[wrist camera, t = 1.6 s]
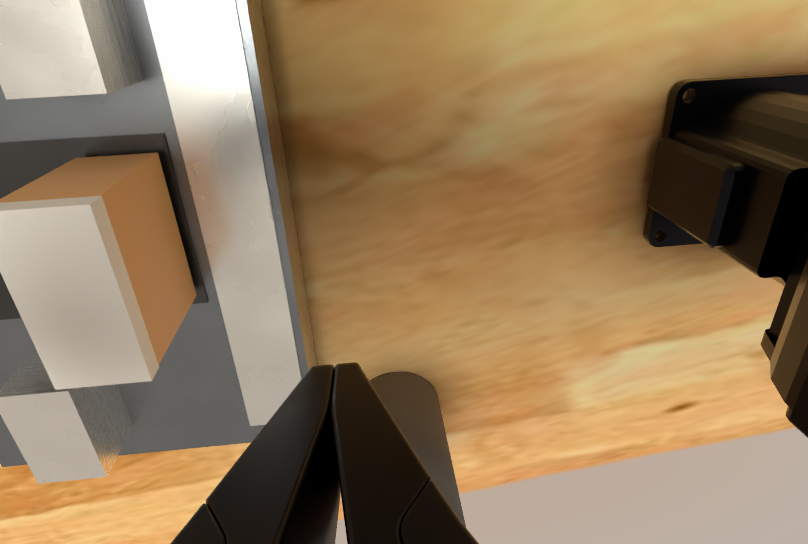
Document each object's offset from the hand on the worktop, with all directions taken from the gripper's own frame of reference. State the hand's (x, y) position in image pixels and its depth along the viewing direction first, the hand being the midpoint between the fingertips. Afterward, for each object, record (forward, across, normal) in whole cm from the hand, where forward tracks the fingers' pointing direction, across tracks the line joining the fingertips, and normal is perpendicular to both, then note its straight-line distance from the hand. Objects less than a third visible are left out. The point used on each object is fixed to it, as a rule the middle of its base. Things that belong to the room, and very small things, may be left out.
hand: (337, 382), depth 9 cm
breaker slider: (+9, +7, 0) cm, 11 cm away
